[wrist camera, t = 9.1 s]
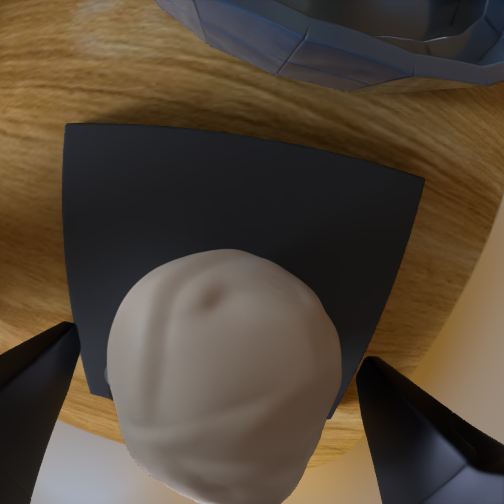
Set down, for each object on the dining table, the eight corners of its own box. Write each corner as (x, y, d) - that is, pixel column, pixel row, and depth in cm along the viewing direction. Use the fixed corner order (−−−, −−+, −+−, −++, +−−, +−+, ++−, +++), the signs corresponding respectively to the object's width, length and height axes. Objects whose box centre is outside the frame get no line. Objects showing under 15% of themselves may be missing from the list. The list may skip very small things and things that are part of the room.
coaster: (414, 174, 10) (426, 178, 9) (327, 408, 14) (330, 419, 13) (76, 123, 8) (64, 123, 8) (94, 383, 13) (90, 394, 12)
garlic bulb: (118, 339, 11) (49, 526, 3) (179, 189, 9) (15, 423, 1) (265, 395, 12) (286, 569, 5) (357, 279, 10) (480, 480, 3)
